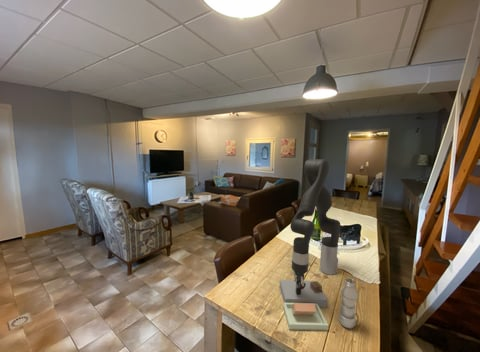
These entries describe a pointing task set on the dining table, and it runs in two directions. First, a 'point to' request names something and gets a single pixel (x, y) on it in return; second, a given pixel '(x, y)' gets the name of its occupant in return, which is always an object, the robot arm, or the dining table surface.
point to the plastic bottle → (348, 304)
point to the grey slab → (306, 294)
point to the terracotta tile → (303, 309)
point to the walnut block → (316, 286)
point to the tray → (305, 319)
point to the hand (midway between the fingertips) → (298, 293)
